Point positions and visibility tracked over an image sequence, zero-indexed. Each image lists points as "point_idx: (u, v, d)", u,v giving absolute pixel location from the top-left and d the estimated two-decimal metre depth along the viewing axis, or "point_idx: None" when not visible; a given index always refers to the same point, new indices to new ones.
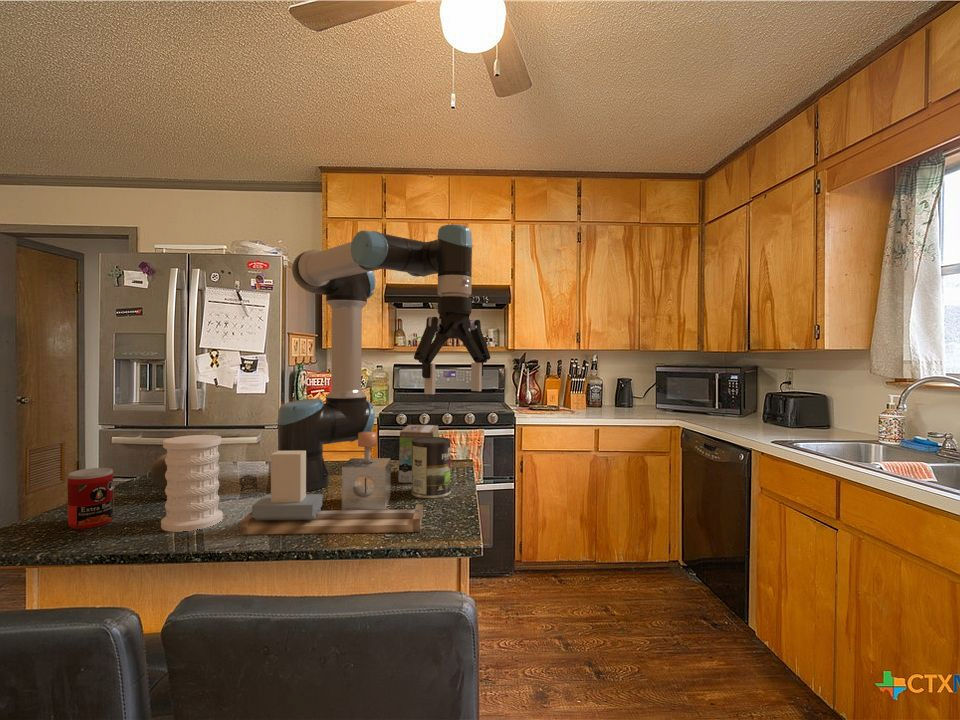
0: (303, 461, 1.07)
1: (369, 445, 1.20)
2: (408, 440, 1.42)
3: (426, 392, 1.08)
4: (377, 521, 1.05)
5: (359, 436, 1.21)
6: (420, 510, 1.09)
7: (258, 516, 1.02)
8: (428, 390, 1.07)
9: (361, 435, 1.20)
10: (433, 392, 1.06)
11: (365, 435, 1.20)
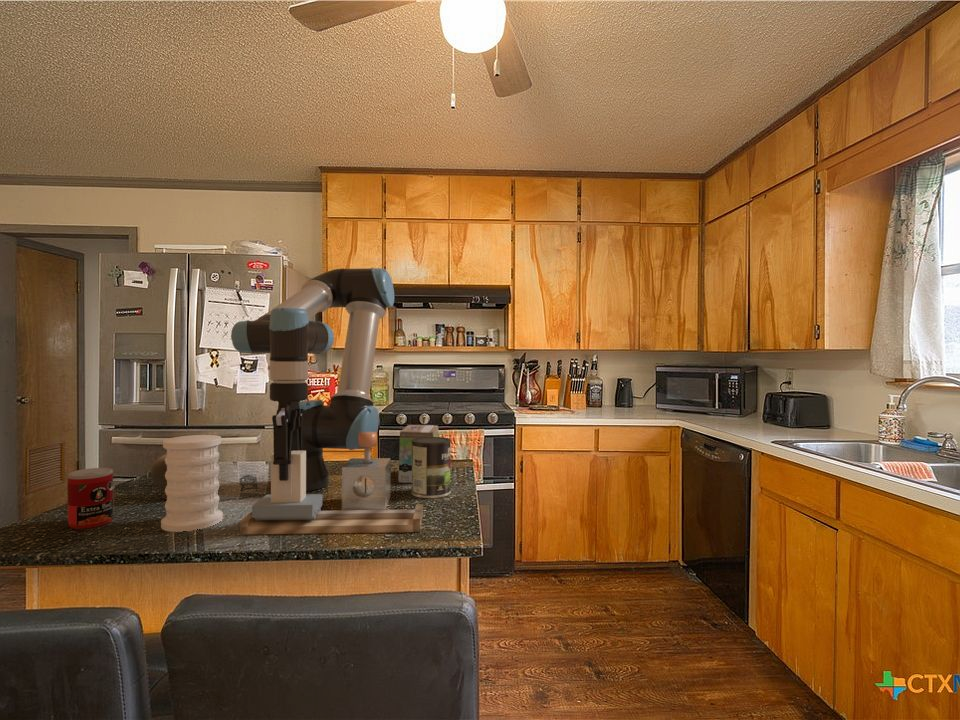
0: (303, 461, 1.07)
1: (369, 445, 1.20)
2: (408, 440, 1.42)
3: None
4: (377, 521, 1.05)
5: (359, 436, 1.21)
6: (420, 510, 1.09)
7: (258, 516, 1.02)
8: None
9: (361, 435, 1.20)
10: None
11: (365, 435, 1.20)
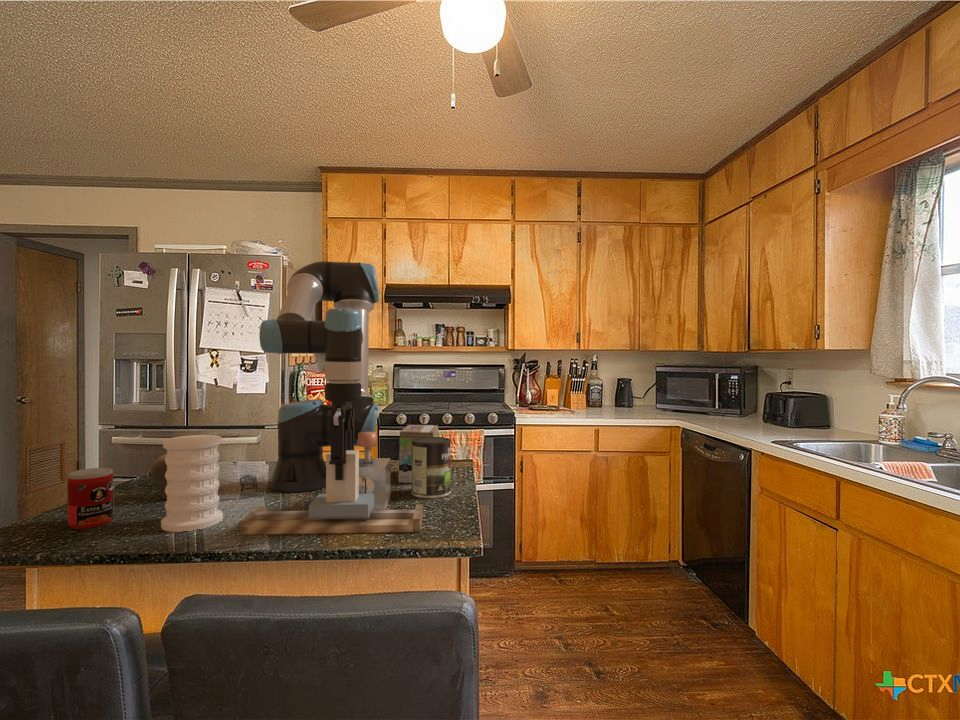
0: (357, 461, 1.07)
1: (369, 445, 1.20)
2: (408, 440, 1.42)
3: None
4: (377, 521, 1.05)
5: (359, 436, 1.21)
6: (420, 510, 1.09)
7: (314, 515, 1.03)
8: None
9: (361, 435, 1.20)
10: None
11: (365, 435, 1.20)
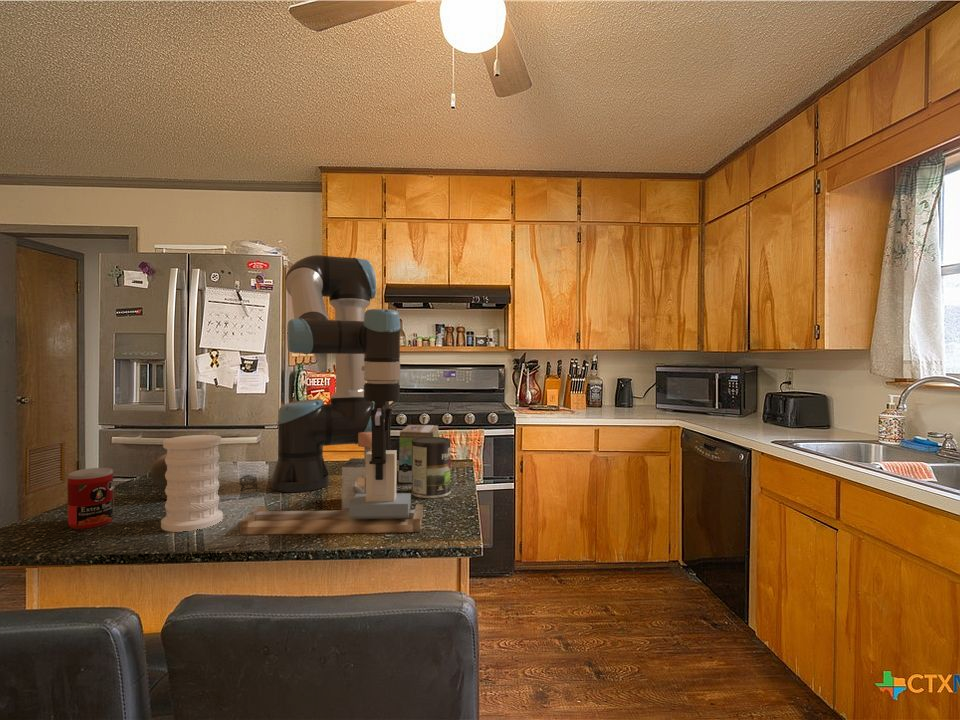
0: (395, 460, 1.08)
1: (369, 445, 1.20)
2: (408, 440, 1.42)
3: None
4: (377, 521, 1.05)
5: (359, 436, 1.21)
6: (420, 510, 1.09)
7: (355, 515, 1.03)
8: None
9: (361, 435, 1.20)
10: None
11: (365, 435, 1.20)
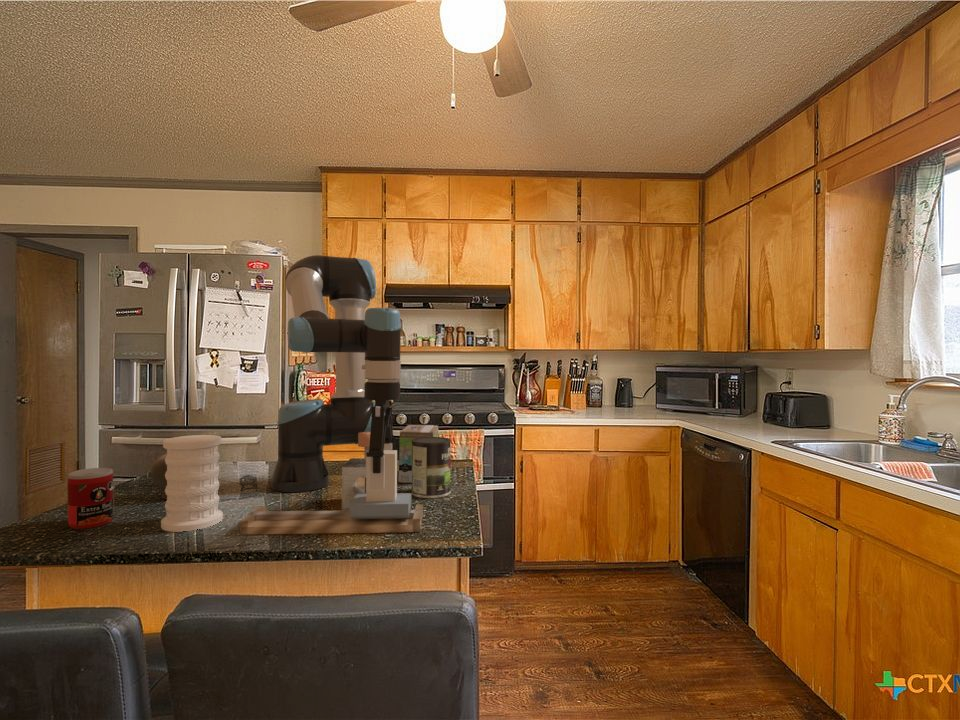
0: (396, 460, 1.08)
1: None
2: (408, 440, 1.42)
3: None
4: (377, 521, 1.05)
5: (359, 436, 1.21)
6: (420, 510, 1.09)
7: (355, 515, 1.03)
8: None
9: (361, 435, 1.20)
10: None
11: (365, 435, 1.20)
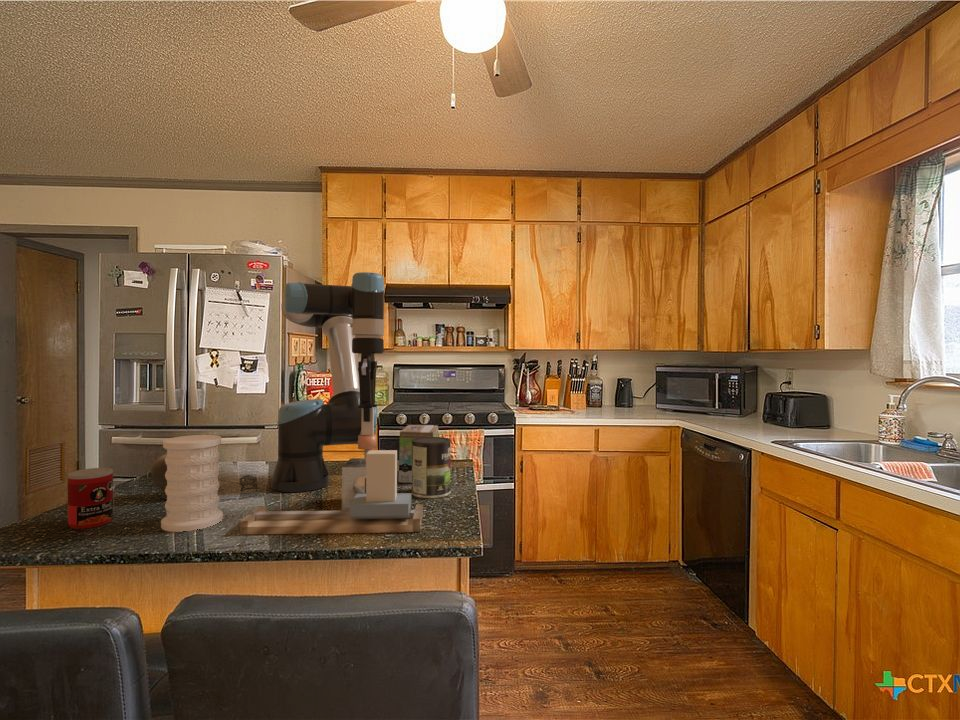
0: (396, 460, 1.08)
1: (369, 448, 1.20)
2: (408, 440, 1.42)
3: None
4: (377, 521, 1.05)
5: (359, 439, 1.21)
6: (420, 510, 1.09)
7: (355, 515, 1.03)
8: None
9: (361, 438, 1.20)
10: None
11: (365, 438, 1.20)
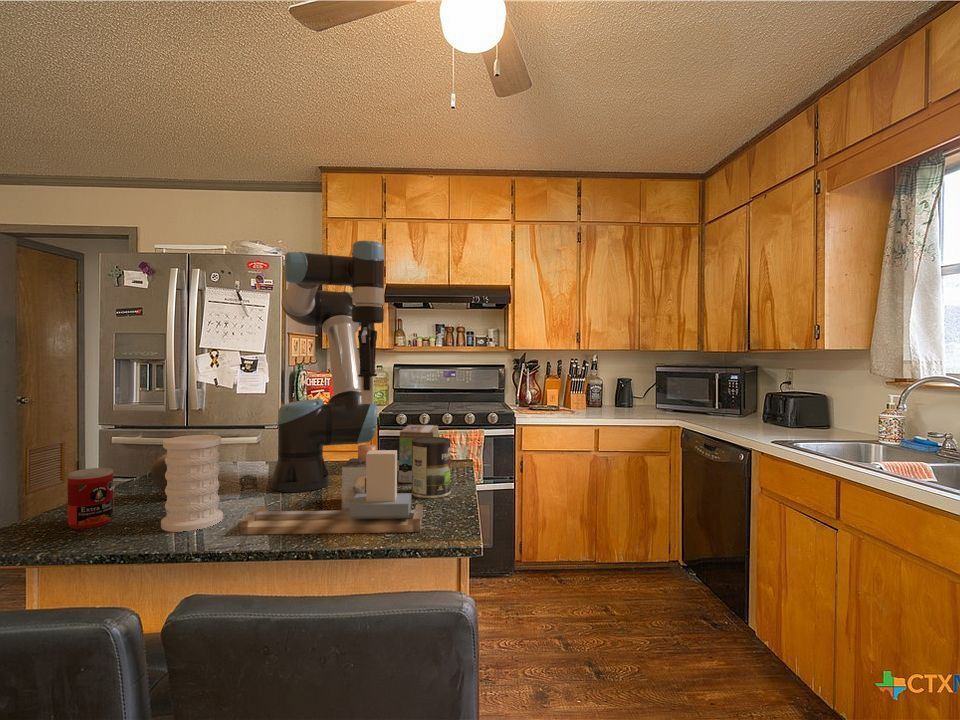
0: (396, 460, 1.08)
1: None
2: (408, 440, 1.42)
3: None
4: (377, 521, 1.05)
5: (359, 449, 1.21)
6: (420, 510, 1.09)
7: (355, 515, 1.03)
8: None
9: (361, 448, 1.20)
10: None
11: (365, 448, 1.20)
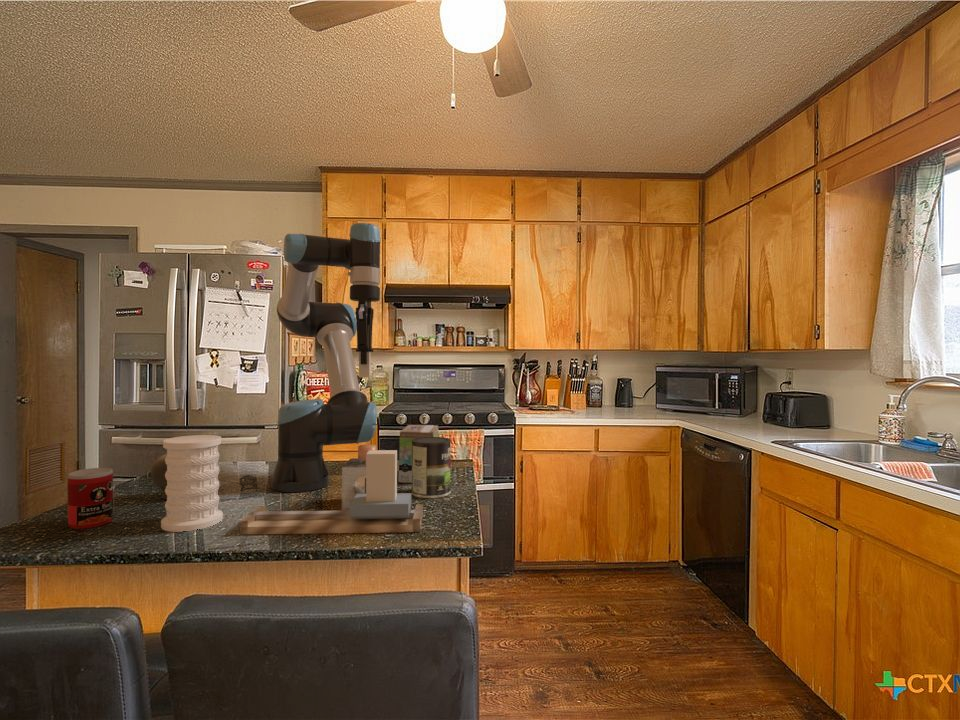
0: (396, 460, 1.08)
1: None
2: (408, 440, 1.42)
3: None
4: (377, 521, 1.05)
5: (359, 449, 1.21)
6: (420, 510, 1.09)
7: (355, 515, 1.03)
8: None
9: (361, 448, 1.20)
10: None
11: (365, 448, 1.20)
